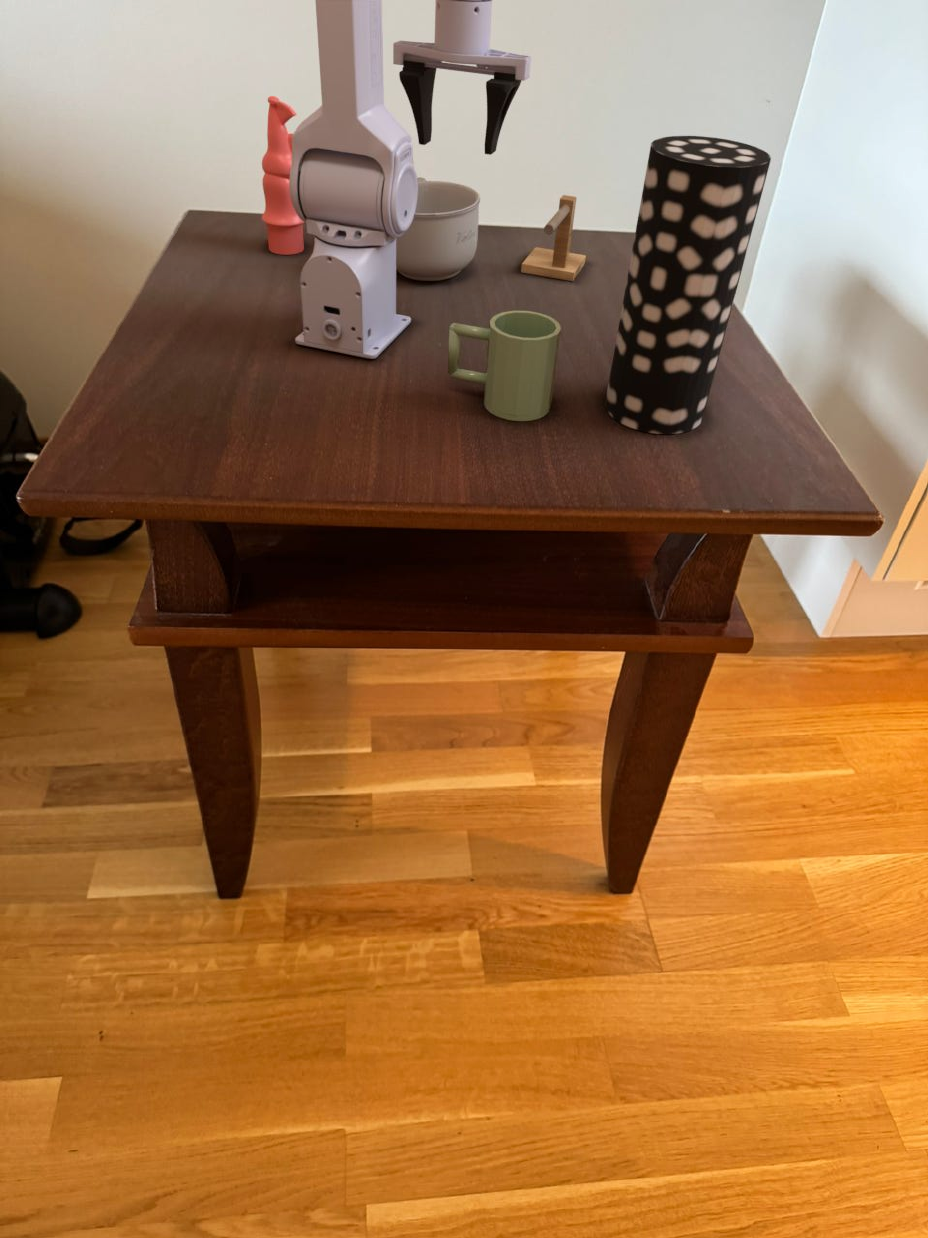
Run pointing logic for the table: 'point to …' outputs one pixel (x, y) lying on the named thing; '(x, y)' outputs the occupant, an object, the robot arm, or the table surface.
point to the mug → (512, 363)
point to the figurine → (280, 184)
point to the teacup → (439, 232)
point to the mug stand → (557, 247)
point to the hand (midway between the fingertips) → (457, 147)
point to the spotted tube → (683, 279)
